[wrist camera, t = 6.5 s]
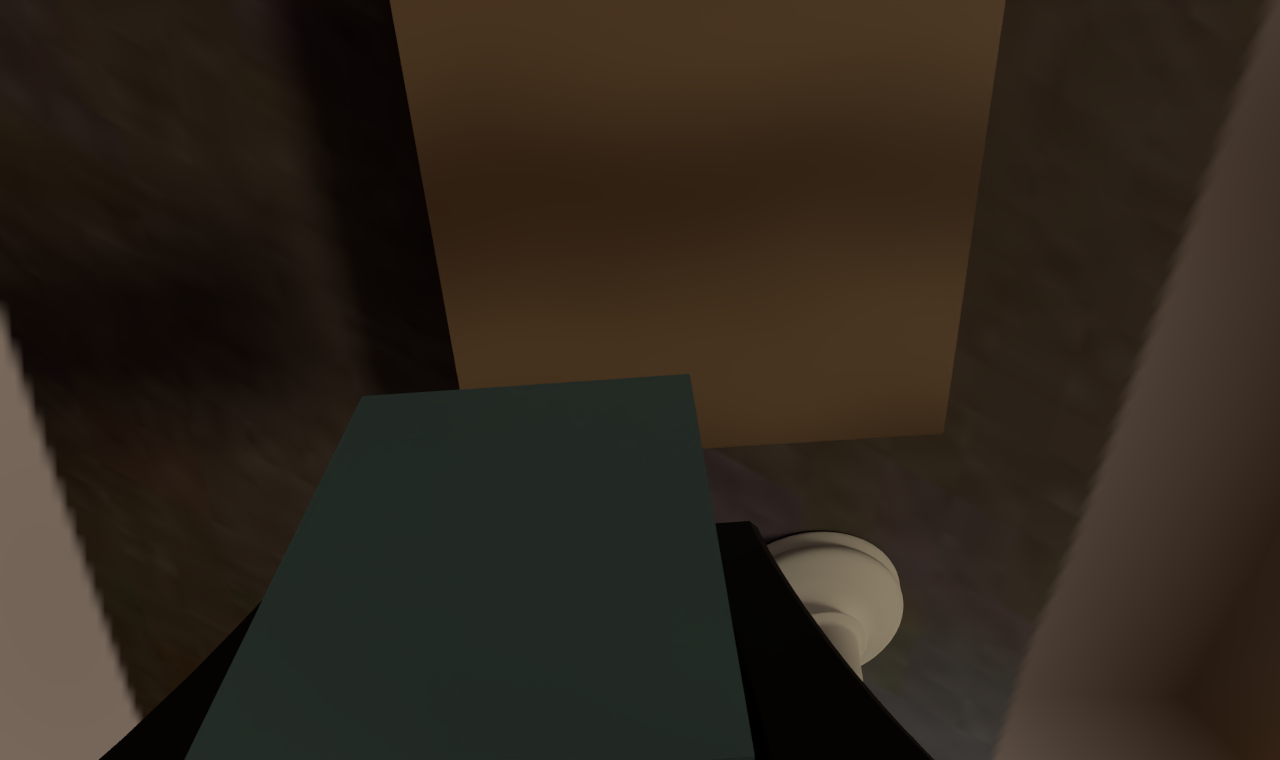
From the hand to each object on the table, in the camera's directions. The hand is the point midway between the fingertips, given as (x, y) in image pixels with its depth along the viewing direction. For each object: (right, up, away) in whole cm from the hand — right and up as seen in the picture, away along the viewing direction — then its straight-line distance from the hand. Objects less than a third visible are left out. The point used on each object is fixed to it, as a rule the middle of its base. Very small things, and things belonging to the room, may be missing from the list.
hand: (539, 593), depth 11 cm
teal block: (0, +1, +1) cm, 2 cm away
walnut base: (+2, +7, +7) cm, 10 cm away
